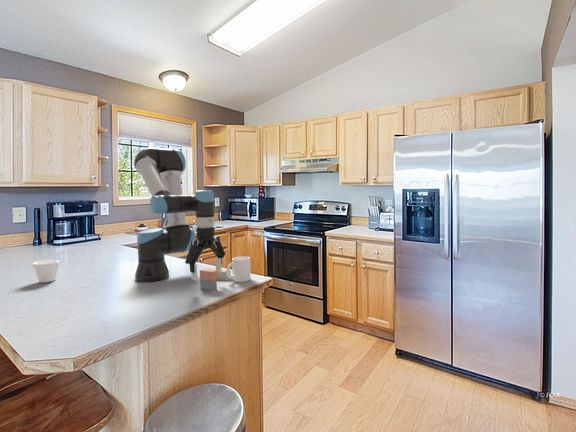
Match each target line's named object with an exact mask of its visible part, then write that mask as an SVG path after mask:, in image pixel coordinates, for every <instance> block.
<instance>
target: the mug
mask: <svg viewBox="0 0 576 432" xmlns="http://www.w3.org/2000/svg"><path fill="white" fill-rule="evenodd" d="M231 268H232V269H231ZM225 270H226V274H227V276H228V277H229V278H230V279H232V281H233V282H235V283H246V282H249V281H250V280H251V258H250V256H243V255H242V256H235V257H232V258H231V262H230V263H229V264H228V265H227V267H226V269H225ZM229 270H231V271H232V272H231V275H230V274H229Z"/></svg>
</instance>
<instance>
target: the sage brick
mask: <svg viewBox="0 0 576 432" xmlns="http://www.w3.org/2000/svg"><path fill="white" fill-rule="evenodd" d="M226 270H227V269H221V273H218V280H220V281H221V280H223V281H224V280H225V281H228V280H230V279H231V278H229V277H228V276H227V274H226ZM231 271H232V269H230V270H229V274H230V275H231V276H232V272H231Z"/></svg>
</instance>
